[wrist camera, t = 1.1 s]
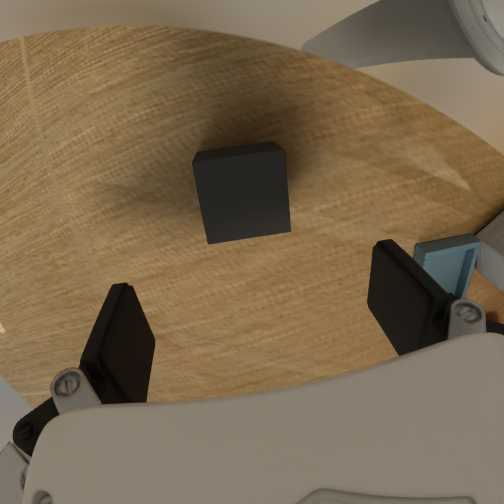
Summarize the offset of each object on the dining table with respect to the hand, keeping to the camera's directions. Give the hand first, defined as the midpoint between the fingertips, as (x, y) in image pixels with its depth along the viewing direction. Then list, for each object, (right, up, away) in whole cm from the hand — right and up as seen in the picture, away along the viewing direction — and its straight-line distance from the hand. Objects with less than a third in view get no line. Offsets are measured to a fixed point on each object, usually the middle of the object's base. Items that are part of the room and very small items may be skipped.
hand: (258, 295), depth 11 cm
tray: (+22, -3, +21) cm, 31 cm away
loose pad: (-1, +7, +12) cm, 14 cm away
